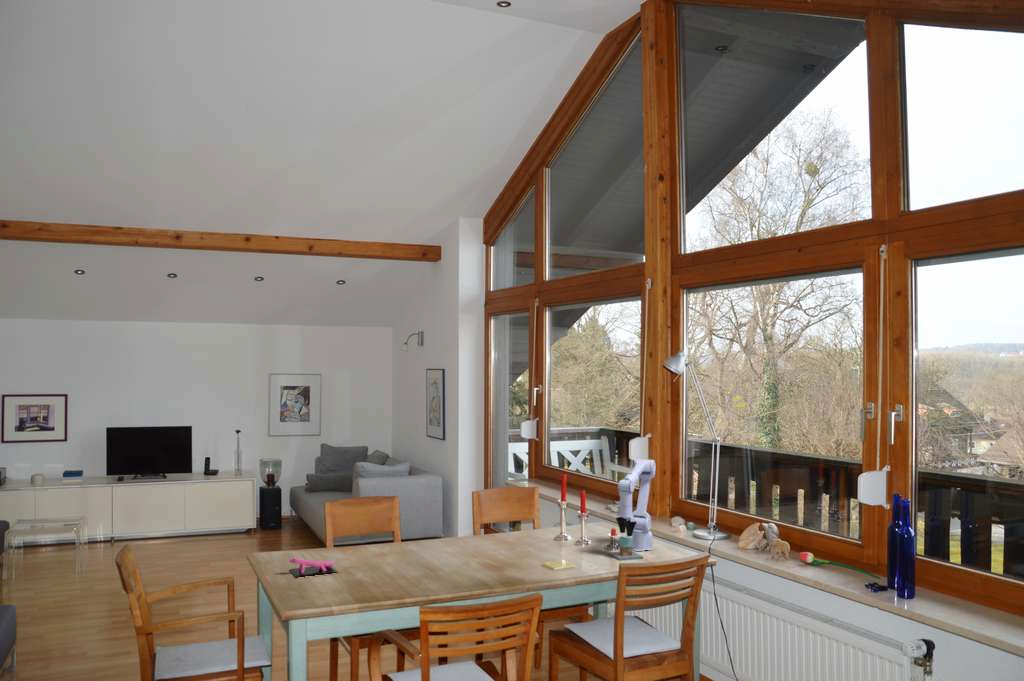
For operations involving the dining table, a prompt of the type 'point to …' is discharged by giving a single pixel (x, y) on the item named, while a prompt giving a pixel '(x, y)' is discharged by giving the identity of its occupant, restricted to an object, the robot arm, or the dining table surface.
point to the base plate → (621, 557)
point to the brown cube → (625, 551)
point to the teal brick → (625, 541)
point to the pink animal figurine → (311, 568)
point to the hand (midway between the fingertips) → (626, 534)
